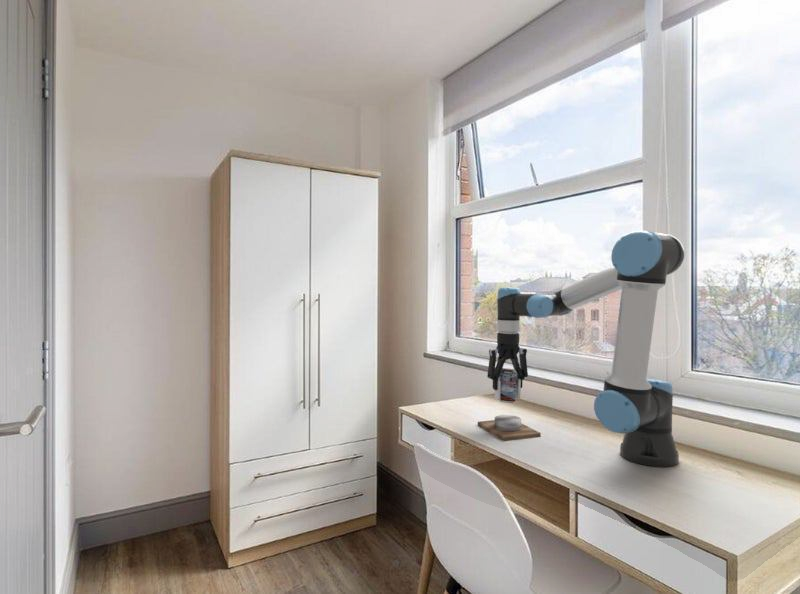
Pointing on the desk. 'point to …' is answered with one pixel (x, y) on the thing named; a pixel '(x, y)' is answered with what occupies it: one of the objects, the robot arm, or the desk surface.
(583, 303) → the robot arm
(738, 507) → the desk surface
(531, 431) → the post board
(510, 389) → the beverage can
